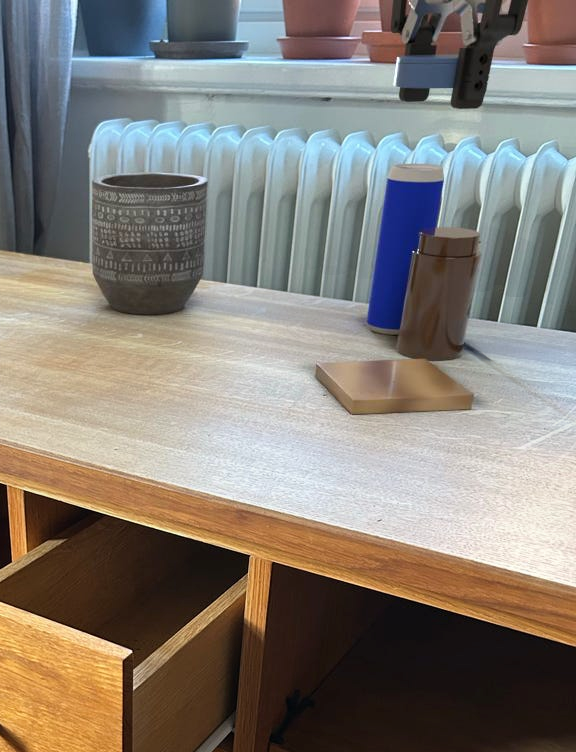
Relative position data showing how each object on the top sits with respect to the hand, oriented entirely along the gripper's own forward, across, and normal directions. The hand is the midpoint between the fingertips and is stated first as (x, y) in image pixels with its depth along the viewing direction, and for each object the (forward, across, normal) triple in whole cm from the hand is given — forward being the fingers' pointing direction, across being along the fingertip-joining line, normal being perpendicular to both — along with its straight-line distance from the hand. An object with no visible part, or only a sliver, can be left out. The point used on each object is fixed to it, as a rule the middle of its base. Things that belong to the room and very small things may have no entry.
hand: (438, 104), depth 71 cm
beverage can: (+21, -16, +9) cm, 28 cm away
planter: (+22, -32, -12) cm, 41 cm away
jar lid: (-3, 0, 0) cm, 3 cm away
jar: (+21, -8, +9) cm, 24 cm away
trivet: (+21, +2, -1) cm, 21 cm away
